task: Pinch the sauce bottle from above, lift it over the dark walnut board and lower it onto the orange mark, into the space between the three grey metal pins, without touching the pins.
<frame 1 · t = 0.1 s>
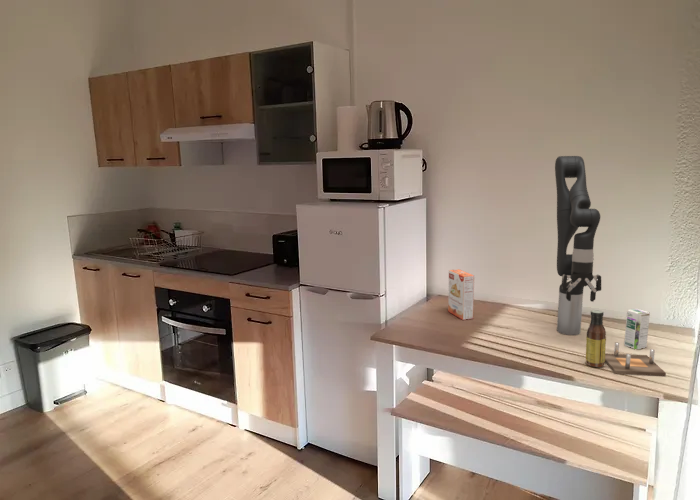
hand: (580, 300, 202), 17 cm above the table, tool pointing down, fingers open, 8 cm apart
metal pins: (636, 356, 182), on the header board, point 4 cm above the table
sauce bottle: (594, 365, 184), on the table
syrup box: (635, 347, 201), on the table
cracker box: (460, 316, 243), on the table
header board: (631, 365, 183), on the table
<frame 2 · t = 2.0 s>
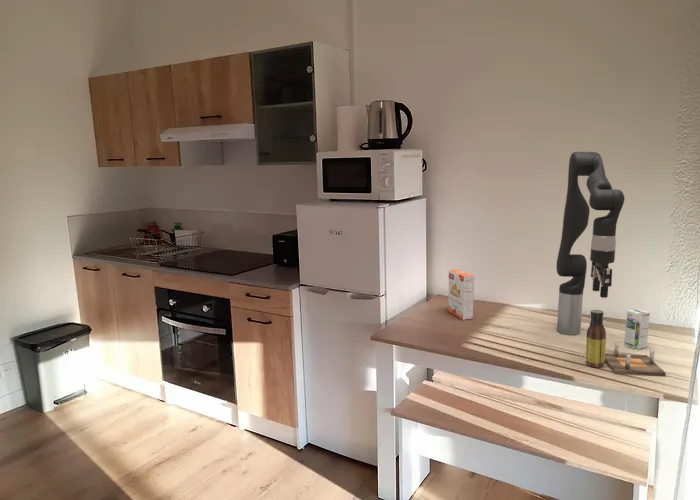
hand: (599, 294, 179), 26 cm above the table, tool pointing down, fingers open, 8 cm apart
nothing on the table moved.
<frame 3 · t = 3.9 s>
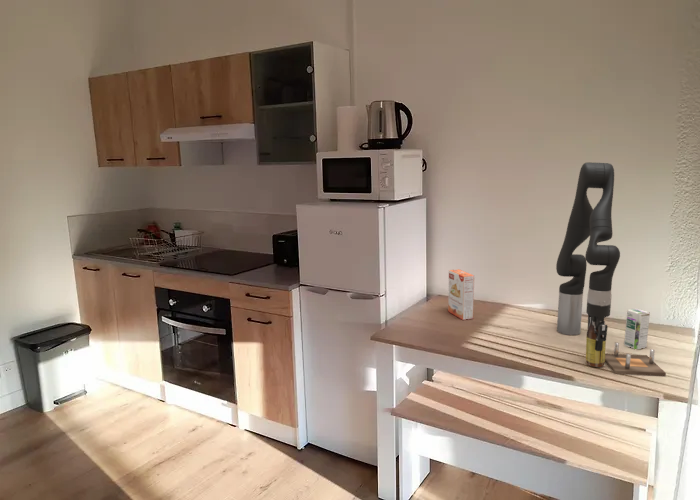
hand: (595, 346, 183), 7 cm above the table, tool pointing down, fingers closed on sauce bottle, 6 cm apart
sauce bottle: (594, 365, 184), on the table, touching gripper
everything else where it was.
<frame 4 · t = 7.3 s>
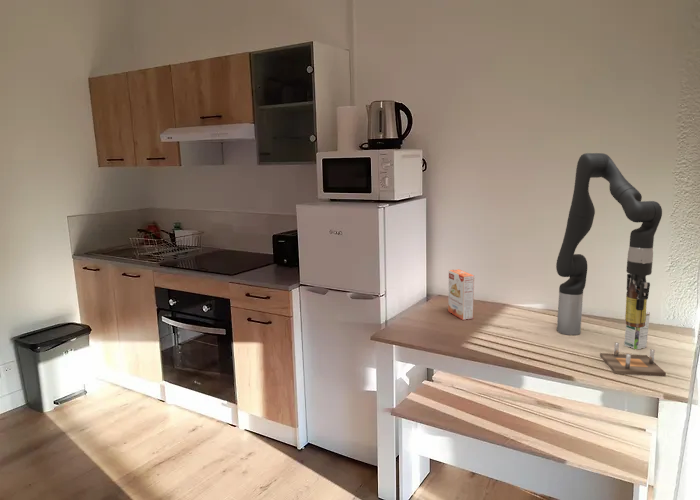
hand: (635, 307, 179), 22 cm above the table, tool pointing down, fingers closed on sauce bottle, 6 cm apart
sauce bottle: (634, 326, 180), point 15 cm above the table, touching gripper
everything else where it was.
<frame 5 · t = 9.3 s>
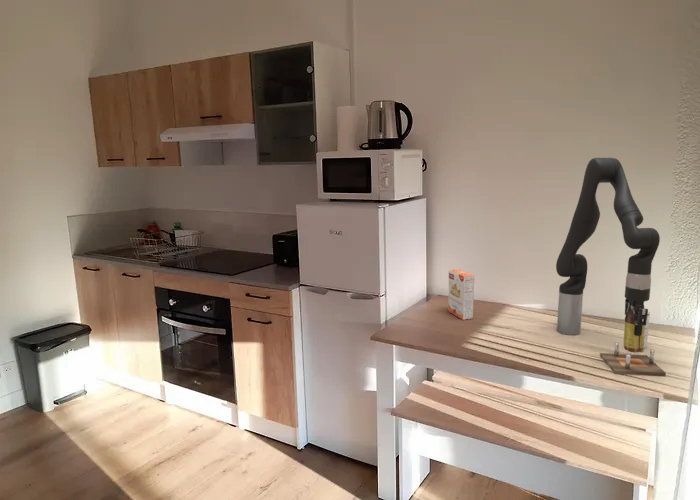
hand: (633, 332, 180), 12 cm above the table, tool pointing down, fingers closed on sauce bottle, 6 cm apart
sauce bottle: (632, 350, 182), point 6 cm above the table, touching gripper
everything else where it was.
when the fingers open (9 cm above the table, at t = 10.7 s): sauce bottle drops 1 cm, resting on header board.
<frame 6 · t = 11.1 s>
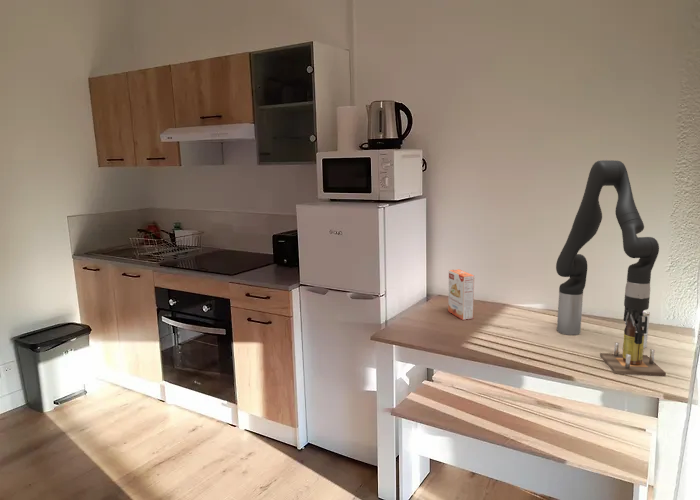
hand: (633, 339, 181), 10 cm above the table, tool pointing down, fingers open, 8 cm apart
sauce bottle: (631, 362, 182), point 1 cm above the table, touching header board
everything else where it was.
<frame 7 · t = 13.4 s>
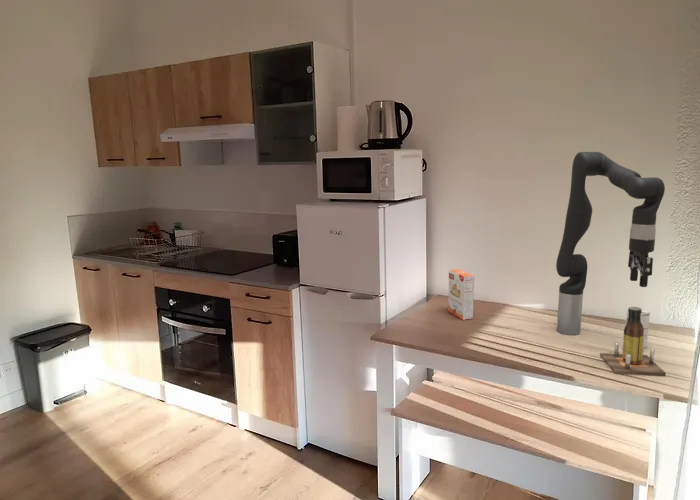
hand: (638, 283, 177), 30 cm above the table, tool pointing down, fingers open, 8 cm apart
nothing on the table moved.
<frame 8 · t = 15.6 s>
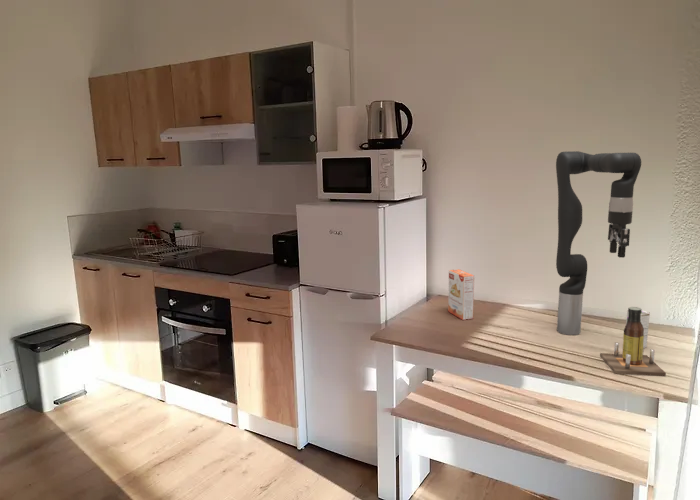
hand: (617, 255, 185), 38 cm above the table, tool pointing down, fingers open, 8 cm apart
nothing on the table moved.
at the end: sauce bottle 0.0 cm off-centre on the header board, point 1.1 cm above the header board's base; sauce bottle tilted 0°; the gripper is holding nothing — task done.
